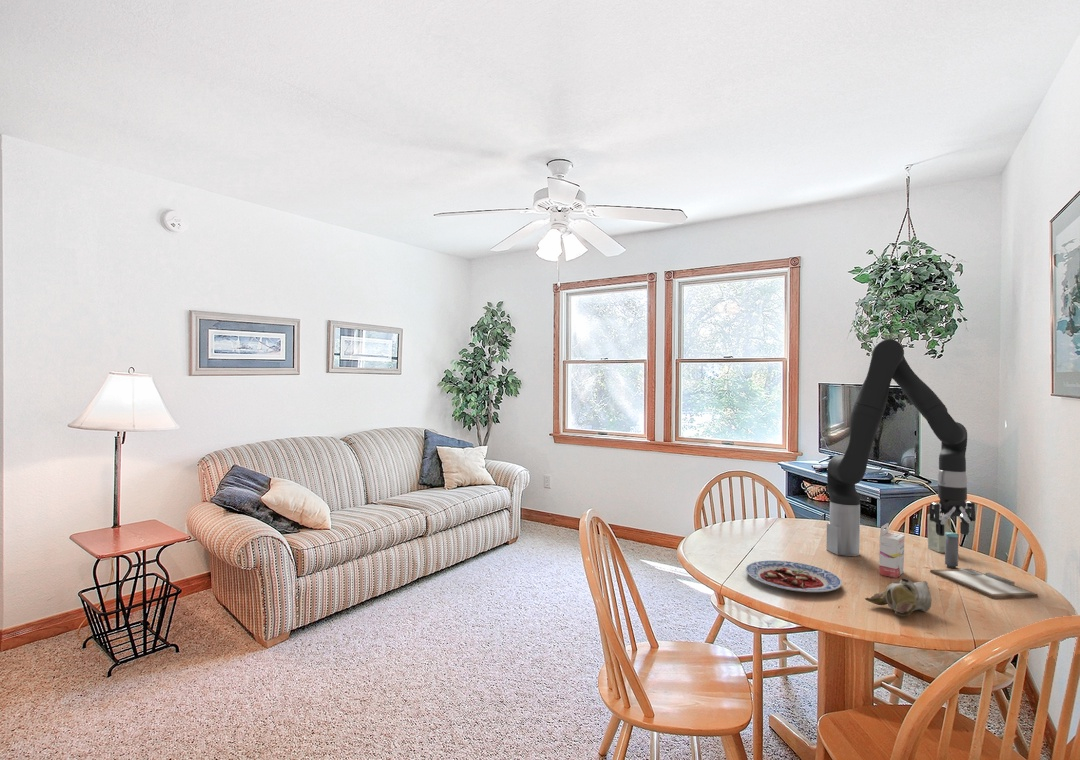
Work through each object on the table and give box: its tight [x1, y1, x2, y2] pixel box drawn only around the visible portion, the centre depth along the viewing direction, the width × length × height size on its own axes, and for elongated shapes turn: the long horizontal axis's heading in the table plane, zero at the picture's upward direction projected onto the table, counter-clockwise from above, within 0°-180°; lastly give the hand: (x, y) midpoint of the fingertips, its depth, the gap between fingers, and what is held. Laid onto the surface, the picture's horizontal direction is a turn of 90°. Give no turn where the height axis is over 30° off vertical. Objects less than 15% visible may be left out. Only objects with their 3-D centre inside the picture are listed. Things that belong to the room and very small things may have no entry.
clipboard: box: [929, 568, 1039, 599], centre depth 165 cm, size 14×21×2 cm, turn 7°
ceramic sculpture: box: [864, 578, 932, 617], centre depth 144 cm, size 11×9×15 cm
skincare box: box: [927, 513, 952, 554], centre depth 198 cm, size 6×4×12 cm
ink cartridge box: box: [878, 522, 906, 579], centre depth 173 cm, size 9×5×15 cm, turn 134°
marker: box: [944, 531, 960, 569], centre depth 179 cm, size 4×4×11 cm
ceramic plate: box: [745, 560, 843, 593], centre depth 165 cm, size 26×26×3 cm
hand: (952, 534), depth 180 cm, fingers open, 8 cm apart
